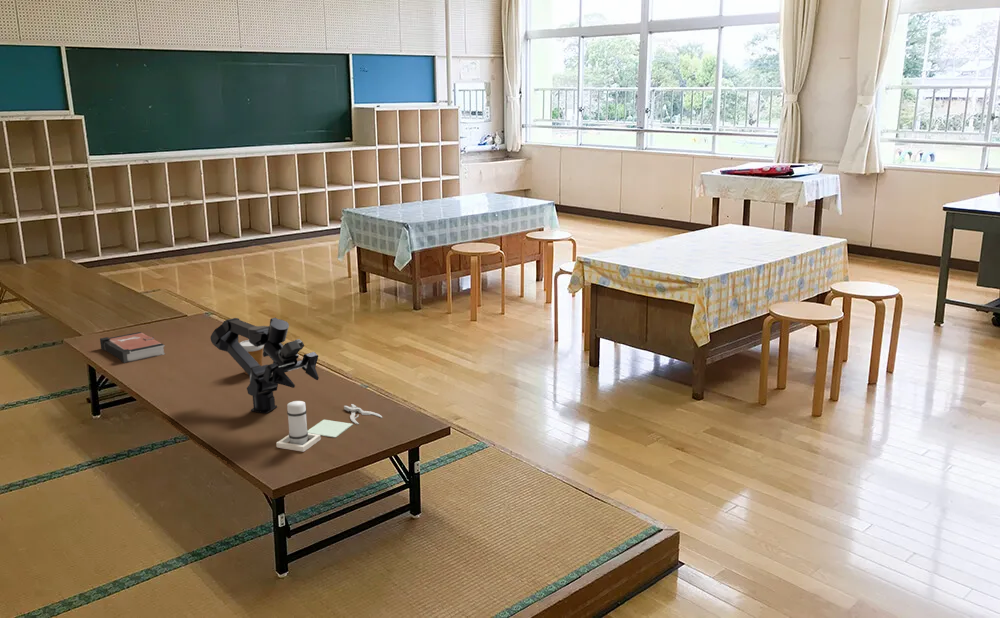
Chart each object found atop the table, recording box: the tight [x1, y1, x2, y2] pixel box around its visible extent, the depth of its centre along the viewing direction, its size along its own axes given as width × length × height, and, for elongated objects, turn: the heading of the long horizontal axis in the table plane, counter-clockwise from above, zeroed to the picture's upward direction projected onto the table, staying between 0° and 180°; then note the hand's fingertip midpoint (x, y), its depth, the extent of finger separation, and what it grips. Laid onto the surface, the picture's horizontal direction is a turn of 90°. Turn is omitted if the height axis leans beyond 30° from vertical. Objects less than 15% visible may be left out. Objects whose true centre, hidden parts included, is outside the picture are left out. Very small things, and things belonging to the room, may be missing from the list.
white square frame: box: [276, 433, 322, 453], centre depth 251 cm, size 10×10×2 cm
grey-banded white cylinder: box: [286, 400, 309, 445], centre depth 249 cm, size 6×6×13 cm
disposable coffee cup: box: [239, 339, 264, 376], centre depth 313 cm, size 10×10×12 cm
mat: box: [307, 419, 354, 439], centre depth 262 cm, size 11×11×1 cm
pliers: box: [343, 403, 384, 425], centre depth 274 cm, size 10×2×15 cm
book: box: [99, 331, 166, 364], centre depth 340 cm, size 26×18×5 cm
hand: (306, 382), depth 258 cm, fingers open, 9 cm apart
